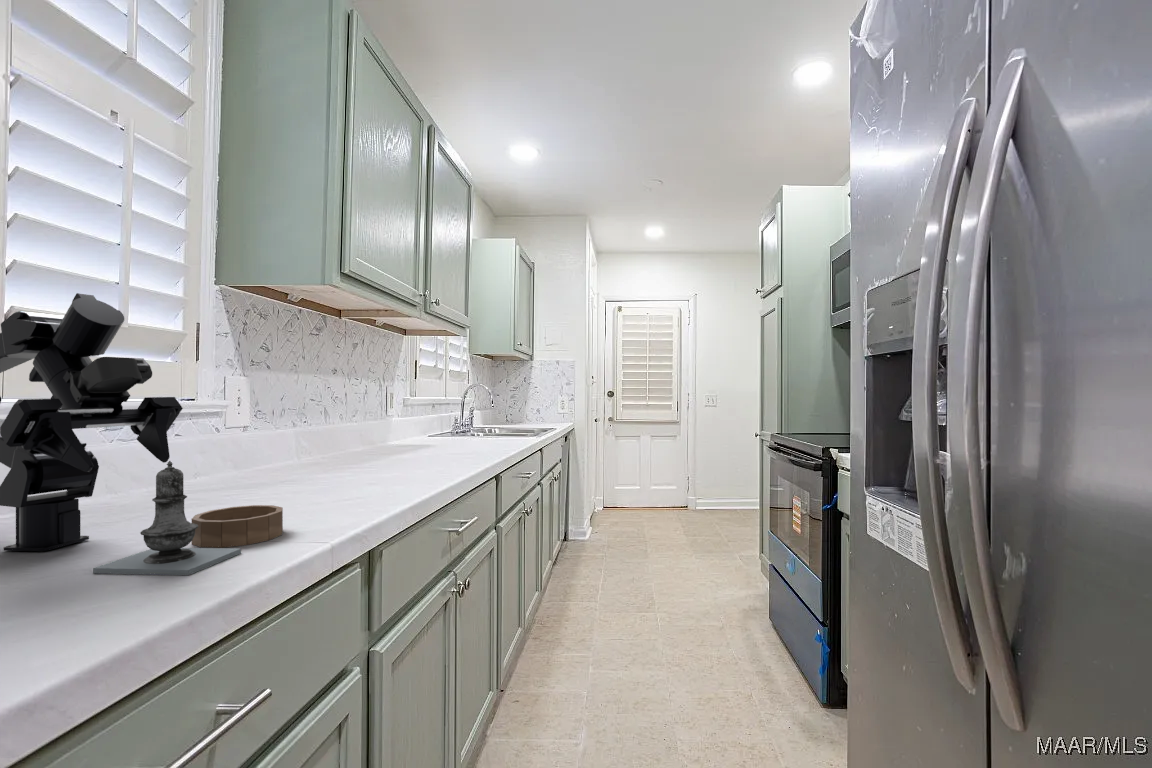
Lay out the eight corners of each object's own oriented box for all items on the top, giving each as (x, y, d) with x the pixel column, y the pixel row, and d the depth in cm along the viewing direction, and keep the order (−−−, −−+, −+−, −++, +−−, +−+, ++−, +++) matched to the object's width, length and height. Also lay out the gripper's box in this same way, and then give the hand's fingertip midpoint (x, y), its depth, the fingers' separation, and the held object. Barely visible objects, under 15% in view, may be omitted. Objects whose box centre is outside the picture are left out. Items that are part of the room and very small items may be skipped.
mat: (93, 573, 68) (93, 568, 68) (155, 551, 77) (155, 547, 77) (188, 575, 66) (188, 569, 66) (241, 553, 75) (240, 548, 75)
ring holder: (173, 546, 79) (172, 521, 79) (229, 527, 90) (229, 505, 90) (250, 548, 78) (250, 522, 78) (297, 528, 89) (297, 505, 89)
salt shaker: (147, 567, 67) (146, 465, 68) (135, 558, 71) (134, 461, 71) (204, 556, 72) (204, 460, 72) (190, 548, 76) (190, 456, 76)
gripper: (13, 330, 68) (74, 424, 64) (172, 342, 85) (228, 416, 81) (-25, 398, 70) (31, 493, 66) (137, 396, 88) (189, 471, 84)
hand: (130, 464), depth 74 cm, fingers open, 9 cm apart
